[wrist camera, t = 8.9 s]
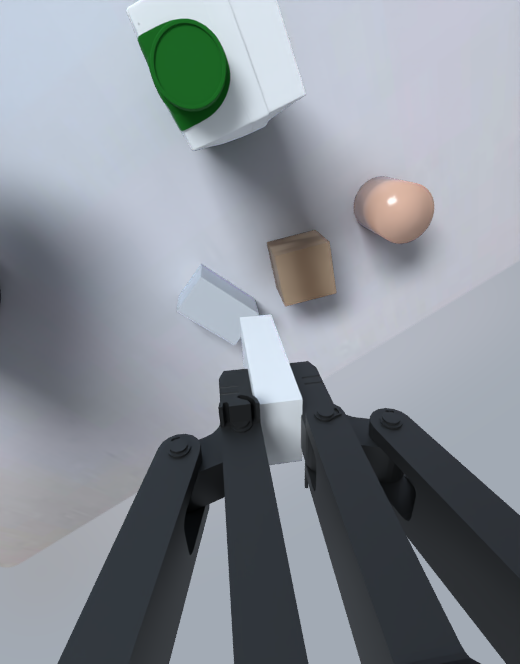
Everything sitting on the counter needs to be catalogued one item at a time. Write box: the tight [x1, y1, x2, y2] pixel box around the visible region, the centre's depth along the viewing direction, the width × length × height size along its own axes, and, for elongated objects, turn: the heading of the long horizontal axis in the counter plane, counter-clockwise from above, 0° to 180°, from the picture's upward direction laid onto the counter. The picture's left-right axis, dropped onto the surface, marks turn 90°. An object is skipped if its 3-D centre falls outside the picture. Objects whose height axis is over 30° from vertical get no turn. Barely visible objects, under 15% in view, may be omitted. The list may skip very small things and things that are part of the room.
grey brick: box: [177, 264, 259, 345], centre depth 45 cm, size 8×5×5 cm, turn 53°
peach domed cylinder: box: [354, 176, 434, 244], centre depth 41 cm, size 6×6×7 cm
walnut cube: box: [267, 230, 336, 306], centre depth 44 cm, size 6×6×6 cm
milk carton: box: [126, 0, 306, 151], centre depth 28 cm, size 9×9×20 cm
